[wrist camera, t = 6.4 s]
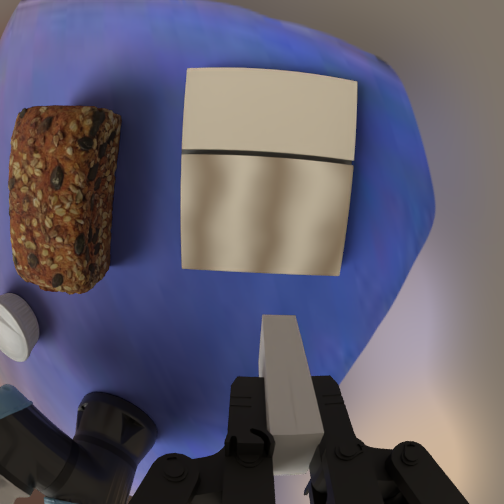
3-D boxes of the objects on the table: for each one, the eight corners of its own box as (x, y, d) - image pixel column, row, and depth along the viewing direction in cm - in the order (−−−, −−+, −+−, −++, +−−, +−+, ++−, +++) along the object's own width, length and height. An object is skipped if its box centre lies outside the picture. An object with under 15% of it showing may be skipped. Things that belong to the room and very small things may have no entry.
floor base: (183, 260, 31) (177, 271, 29) (188, 76, 25) (182, 68, 22) (335, 268, 32) (343, 279, 29) (351, 88, 25) (362, 82, 22)
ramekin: (29, 285, 33) (8, 300, 28) (54, 347, 36) (38, 366, 31) (-7, 287, 33) (-26, 300, 28) (16, 342, 37) (1, 358, 32)
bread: (59, 112, 26) (5, 106, 16) (132, 113, 26) (85, 100, 17) (50, 255, 31) (3, 286, 22) (115, 273, 32) (74, 313, 23)
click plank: (186, 261, 30) (181, 268, 28) (186, 154, 27) (181, 154, 25) (334, 268, 31) (339, 276, 29) (346, 164, 27) (353, 165, 25)
